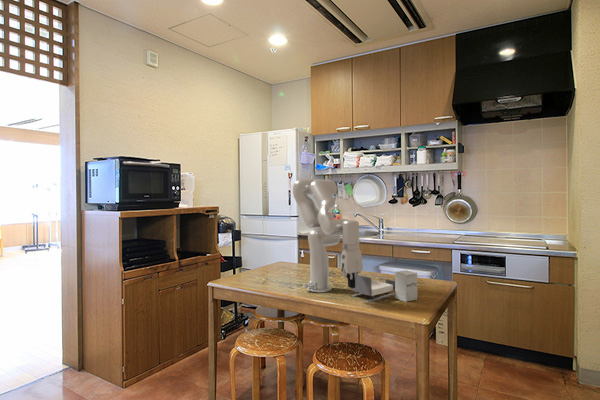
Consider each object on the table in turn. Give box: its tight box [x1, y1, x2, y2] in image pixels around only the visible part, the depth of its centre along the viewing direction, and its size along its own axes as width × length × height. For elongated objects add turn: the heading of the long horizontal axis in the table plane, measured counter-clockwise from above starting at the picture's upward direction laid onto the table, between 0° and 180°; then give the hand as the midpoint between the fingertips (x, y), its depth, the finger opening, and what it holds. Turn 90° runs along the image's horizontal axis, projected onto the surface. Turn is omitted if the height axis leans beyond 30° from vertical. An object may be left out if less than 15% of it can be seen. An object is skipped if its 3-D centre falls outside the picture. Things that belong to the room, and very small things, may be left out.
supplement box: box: [394, 270, 418, 303], centre depth 165 cm, size 7×7×13 cm
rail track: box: [350, 278, 395, 303], centre depth 174 cm, size 28×14×4 cm, turn 127°
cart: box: [350, 274, 394, 299], centre depth 170 cm, size 15×14×10 cm
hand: (351, 287), depth 162 cm, fingers closed
